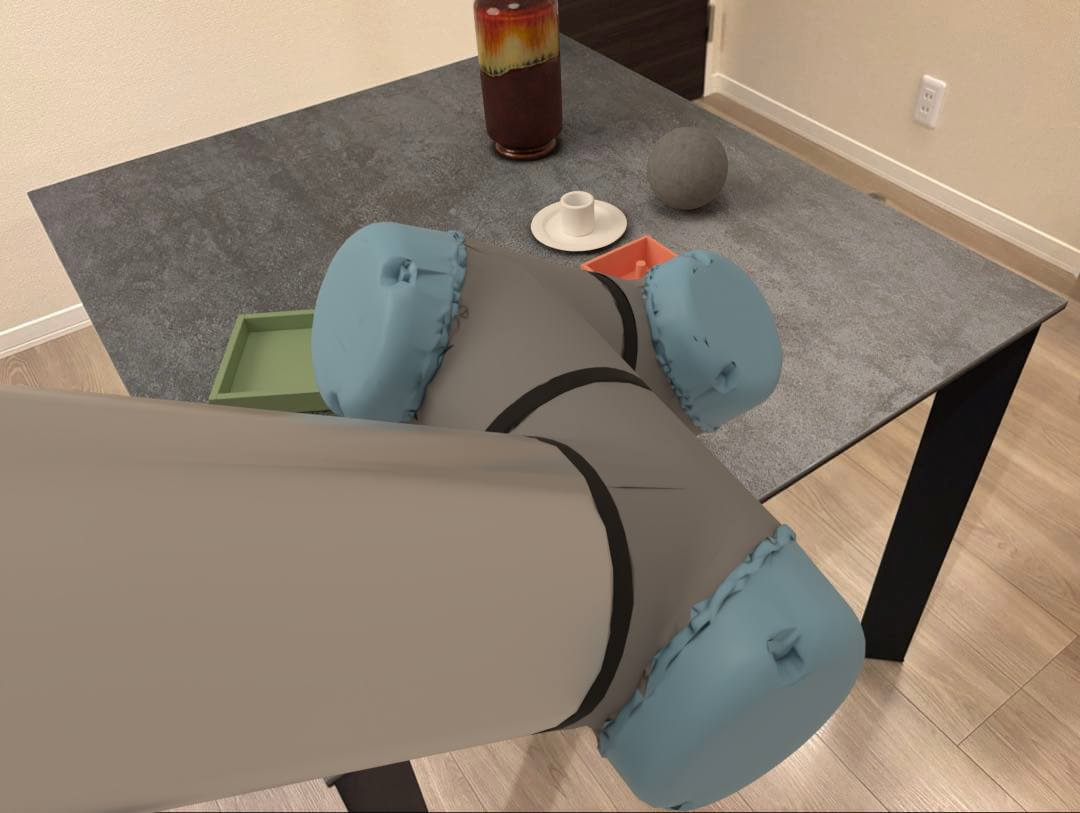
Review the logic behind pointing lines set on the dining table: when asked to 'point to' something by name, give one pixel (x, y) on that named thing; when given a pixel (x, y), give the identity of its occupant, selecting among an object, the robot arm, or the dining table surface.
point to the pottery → (630, 259)
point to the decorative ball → (687, 168)
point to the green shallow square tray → (269, 364)
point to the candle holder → (578, 223)
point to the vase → (520, 75)
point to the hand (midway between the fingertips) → (337, 535)
